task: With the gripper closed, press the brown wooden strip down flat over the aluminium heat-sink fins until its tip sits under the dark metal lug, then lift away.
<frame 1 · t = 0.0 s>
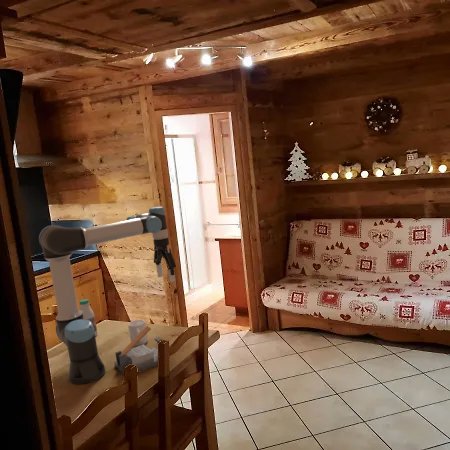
hand: (166, 279, 225), 28 cm above the table, fingers open, 13 cm apart
brown wooden strip: (134, 342, 195), point 11 cm above the table, hinge at 30.0°
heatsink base: (142, 363, 198), on the table
milk bottle: (90, 336, 237), on the table
mug: (139, 344, 219), on the table
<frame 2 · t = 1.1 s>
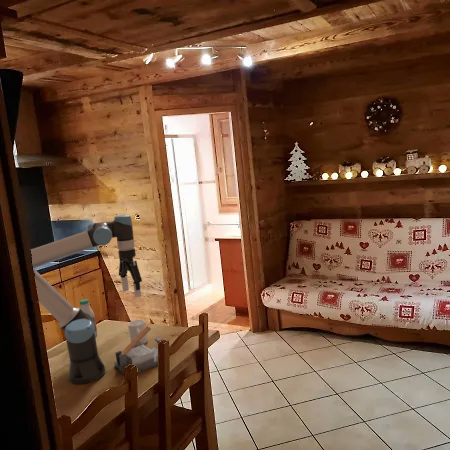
hand: (131, 293, 207), 28 cm above the table, fingers open, 13 cm apart
nothing on the table moved.
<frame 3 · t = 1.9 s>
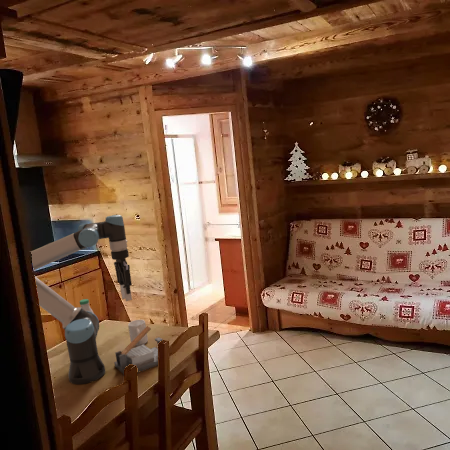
hand: (127, 299, 204), 27 cm above the table, fingers open, 4 cm apart
nothing on the table moved.
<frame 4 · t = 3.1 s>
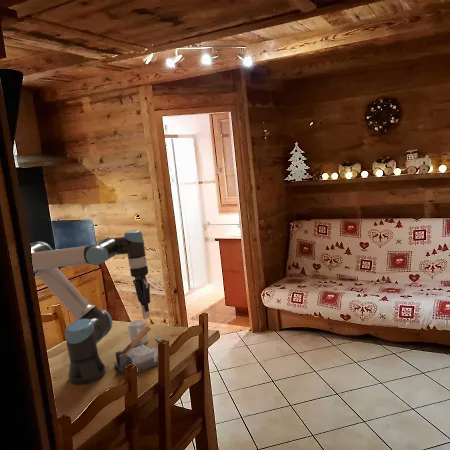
hand: (146, 317, 197), 20 cm above the table, fingers closed
nothing on the table moved.
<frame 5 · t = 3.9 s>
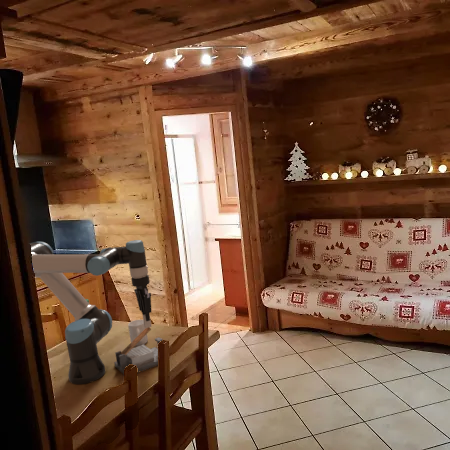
hand: (148, 327, 198), 15 cm above the table, fingers closed
brown wooden strip: (134, 342, 195), point 11 cm above the table, hinge at 29.3°, touching gripper
everything else where it was.
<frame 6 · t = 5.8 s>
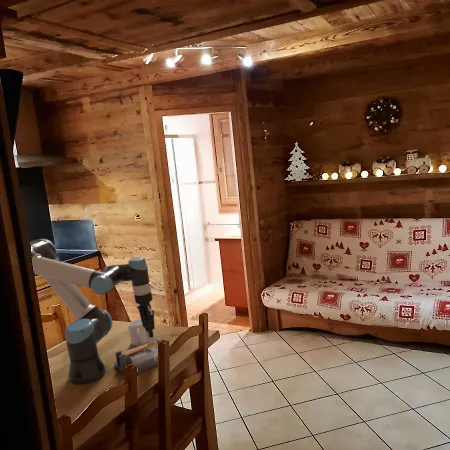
hand: (151, 343, 199), 8 cm above the table, fingers closed
brown wooden strip: (138, 349, 196), point 7 cm above the table, hinge at 3.3°, touching gripper
everything else where it was.
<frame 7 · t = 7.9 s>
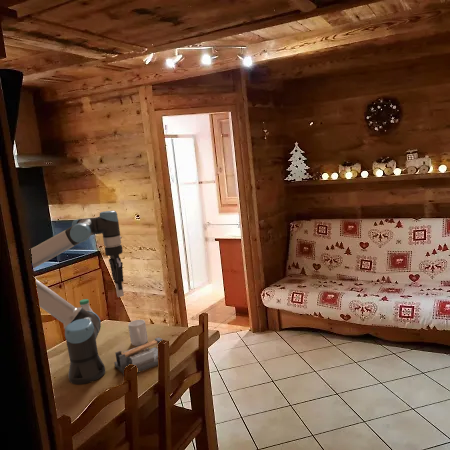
hand: (120, 296, 203), 29 cm above the table, fingers closed
brown wooden strip: (138, 349, 196), point 7 cm above the table, hinge at 3.2°
everything else where it was.
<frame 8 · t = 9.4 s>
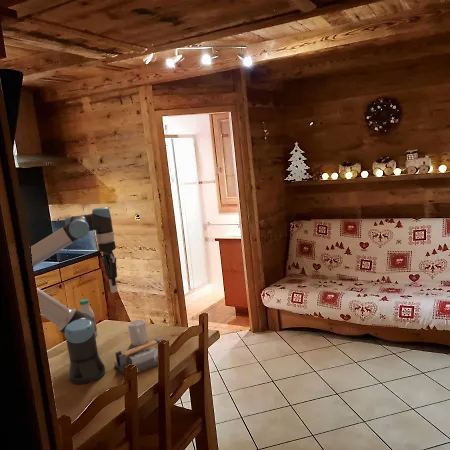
hand: (114, 291, 205), 30 cm above the table, fingers closed
nothing on the table moved.
at the end: brown wooden strip at +3° (first picture: +30°) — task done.
